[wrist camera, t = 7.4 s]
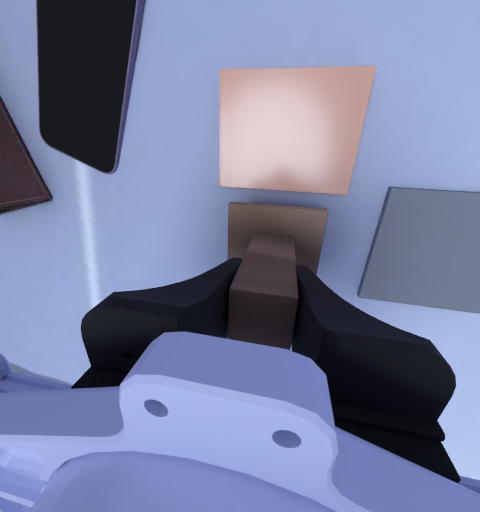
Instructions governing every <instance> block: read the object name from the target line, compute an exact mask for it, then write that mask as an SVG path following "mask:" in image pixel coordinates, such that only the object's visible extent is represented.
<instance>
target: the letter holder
mask: <svg viewBox="0 0 480 512" xmlns="http://www.w3.org/2000/svg"><path fill="white" fill-rule="evenodd" d="M51 198H52V196H51V195H50V193H49V192H48V190H47V188H46V186H45V184H44V182H43V180H42V179H41V177H40V175H39V173H38V171H37V169H36V167H35V165H34V163H33V161H32V159H31V157H30V155H29V153H28V151H27V150H26V148H25V146H24V144H23V142H22V140H21V138H20V136H19V134H18V132H17V130H16V128H15V126H14V124H13V122H12V120H11V118H10V116H9V114H8V112H7V111H6V109H5V107H4V105H3V103H2V101H1V99H0V214H2V213H6V212H10V211H14V210H17V209H21V208H25V207H28V206H32V205H36V204H40V203H43V202H46V201H49V200H50V199H51Z"/></svg>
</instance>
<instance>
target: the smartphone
mask: <svg viewBox="0 0 480 512" xmlns="http://www.w3.org/2000/svg"><path fill="white" fill-rule="evenodd" d="M144 4H145V0H36V12H37V55H38V97H39V130H40V135H41V137H42V139H43V140H44V142H45V143H46V144H47V145H48V146H50V147H51V148H53V149H55V150H57V151H59V152H61V153H63V154H65V155H68V156H70V157H72V158H74V159H76V160H78V161H80V162H82V163H84V164H86V165H88V166H90V167H92V168H94V169H96V170H98V171H100V172H102V173H105V174H110V173H114V172H115V171H116V170H117V168H118V164H119V158H120V152H121V146H122V140H123V134H124V128H125V121H126V115H127V109H128V103H129V97H130V91H131V85H132V79H133V73H134V67H135V61H136V55H137V48H138V42H139V36H140V30H141V24H142V18H143V11H144Z"/></svg>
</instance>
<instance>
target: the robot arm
mask: <svg viewBox="0 0 480 512" xmlns="http://www.w3.org/2000/svg"><path fill="white" fill-rule="evenodd" d="M242 260H243V258H236V257H233V258H231V259H229V260H227V261H226V262H224V263H222V264H220V265H219V266H217V267H215V268H213V269H211V270H209V271H207V272H205V273H203V274H201V275H199V276H196V277H194V278H191V279H188V280H185V281H182V282H178V283H175V284H171V285H167V286H162V287H157V288H151V289H145V290H136V291H123V292H113V293H112V294H111V295H109V296H108V297H107V298H105V299H104V300H103V301H102V302H100V303H99V304H98V305H97V306H95V307H94V308H93V309H91V310H90V311H89V312H88V313H86V315H85V316H84V318H83V319H82V324H81V333H82V339H83V342H84V345H85V348H86V351H87V355H88V358H89V361H90V364H91V367H90V368H89V369H88V370H87V371H86V372H85V373H84V374H83V376H82V377H81V378H80V379H79V380H78V381H77V382H76V383H75V384H74V385H73V386H72V385H68V384H64V383H59V382H55V381H51V380H46V379H42V378H38V377H33V376H29V375H25V374H21V373H16V372H12V371H11V370H10V369H11V368H10V366H9V363H8V361H7V360H6V358H5V357H4V356H3V355H1V354H0V512H480V480H475V479H471V478H467V477H462V476H459V475H458V473H457V471H456V469H455V467H454V465H453V463H452V462H451V460H450V458H449V456H448V454H447V452H446V450H445V448H444V447H443V445H442V443H441V441H444V440H445V434H444V432H443V430H442V428H441V426H440V425H439V423H438V421H437V420H438V418H439V416H440V415H441V413H442V412H443V410H444V408H445V407H446V405H447V404H448V402H449V400H450V399H451V397H452V395H453V393H454V390H455V387H456V379H455V374H454V373H453V371H452V369H451V367H450V365H449V364H448V363H447V361H446V360H445V359H444V358H443V356H442V355H441V354H440V352H439V351H438V350H437V348H436V347H435V346H434V345H433V343H432V342H431V341H430V340H428V339H425V338H422V337H420V336H417V335H414V334H412V333H409V332H406V331H404V330H401V329H398V328H396V327H394V326H391V325H389V324H387V323H385V322H382V321H380V320H378V319H376V318H374V317H372V316H370V315H368V314H367V313H365V312H363V311H361V310H359V309H358V308H356V307H354V306H353V305H351V304H350V303H348V302H347V301H345V300H344V299H342V298H341V297H340V296H338V295H337V294H336V293H335V292H333V291H332V290H331V289H330V288H329V287H327V286H326V285H325V284H324V283H323V282H322V281H321V280H320V279H319V278H318V277H317V276H316V275H315V274H314V273H313V272H312V270H311V269H310V268H309V267H308V266H306V265H297V264H296V267H295V269H296V273H297V285H298V304H297V310H296V316H295V322H294V328H293V334H292V341H291V346H292V351H290V350H287V349H282V348H277V347H271V346H265V345H259V344H254V343H248V342H242V341H236V340H231V339H227V337H228V322H229V288H230V286H231V284H232V282H233V279H234V277H235V275H236V273H237V271H238V268H239V266H240V264H241V263H242Z"/></svg>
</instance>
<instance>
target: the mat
mask: <svg viewBox="0 0 480 512" xmlns="http://www.w3.org/2000/svg"><path fill="white" fill-rule="evenodd" d="M357 295H358V297H360V298H367V299H375V300H382V301H389V302H397V303H404V304H412V305H419V306H426V307H434V308H441V309H449V310H456V311H463V312H471V313H478V314H480V193H477V192H461V191H445V190H429V189H412V188H396V187H389V189H388V192H387V196H386V199H385V203H384V206H383V209H382V213H381V216H380V219H379V223H378V226H377V229H376V233H375V236H374V240H373V243H372V246H371V250H370V253H369V256H368V260H367V263H366V267H365V270H364V273H363V277H362V280H361V283H360V287H359V290H358V294H357Z"/></svg>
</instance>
